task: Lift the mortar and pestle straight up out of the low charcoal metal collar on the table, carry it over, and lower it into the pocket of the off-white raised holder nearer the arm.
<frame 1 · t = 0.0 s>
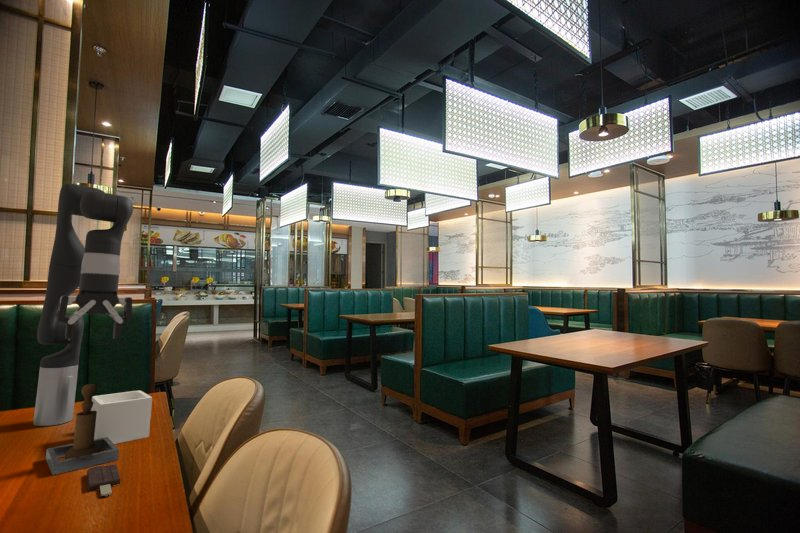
hand: (93, 339, 93), 29 cm above the table, tool pointing down, fingers open, 8 cm apart
low collar: (81, 459, 94), on the table
raised holder: (118, 436, 110), on the table
ice cream bar: (103, 486, 82), on the table
mortar and pestle: (81, 460, 94), resting in low collar
gaming controller: (116, 426, 119), on the table
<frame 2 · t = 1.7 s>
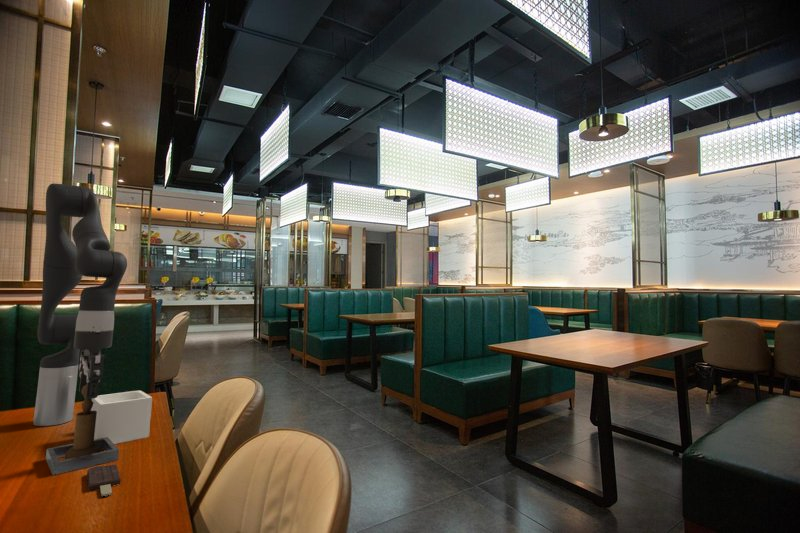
hand: (88, 395, 95), 15 cm above the table, tool pointing down, fingers open, 8 cm apart
nothing on the table moved.
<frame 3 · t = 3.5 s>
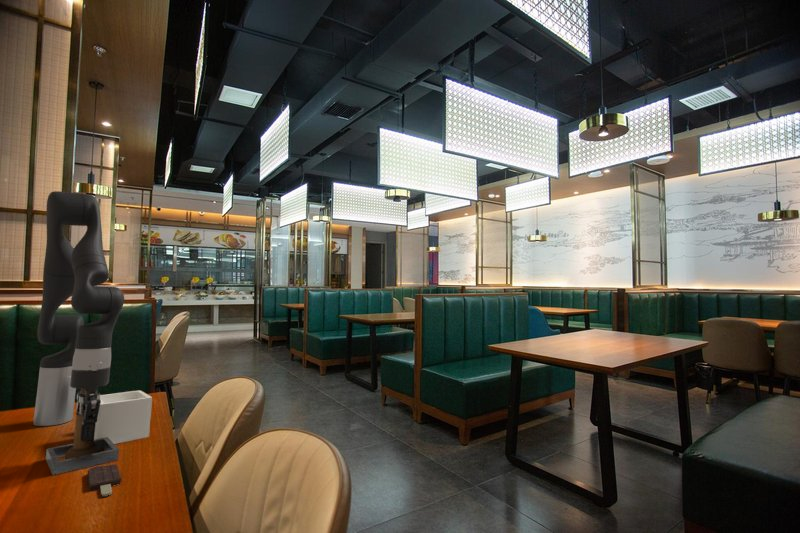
hand: (84, 437, 94), 5 cm above the table, tool pointing down, fingers closed on mortar and pestle, 4 cm apart
mortar and pestle: (81, 460, 94), resting in low collar, touching gripper
everything else where it was.
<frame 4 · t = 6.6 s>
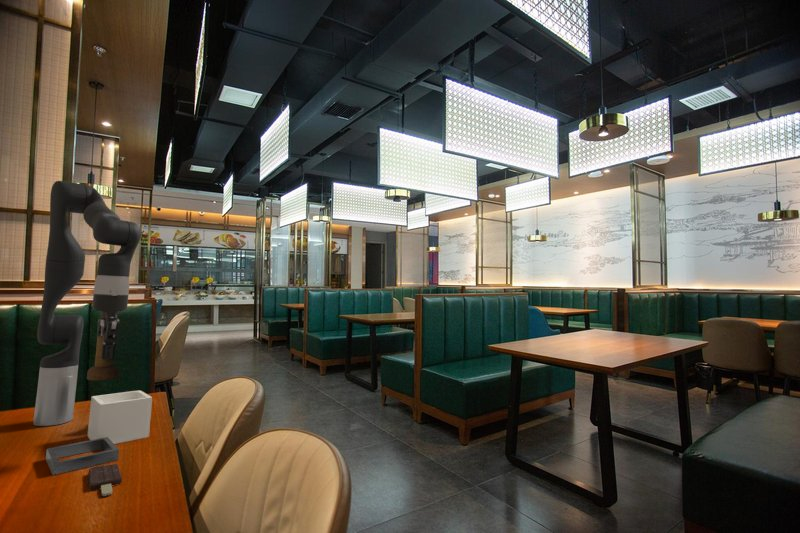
hand: (104, 357, 102), 24 cm above the table, tool pointing down, fingers closed on mortar and pestle, 4 cm apart
mortar and pestle: (102, 378, 102), point 18 cm above the table, touching gripper
everything else where it was.
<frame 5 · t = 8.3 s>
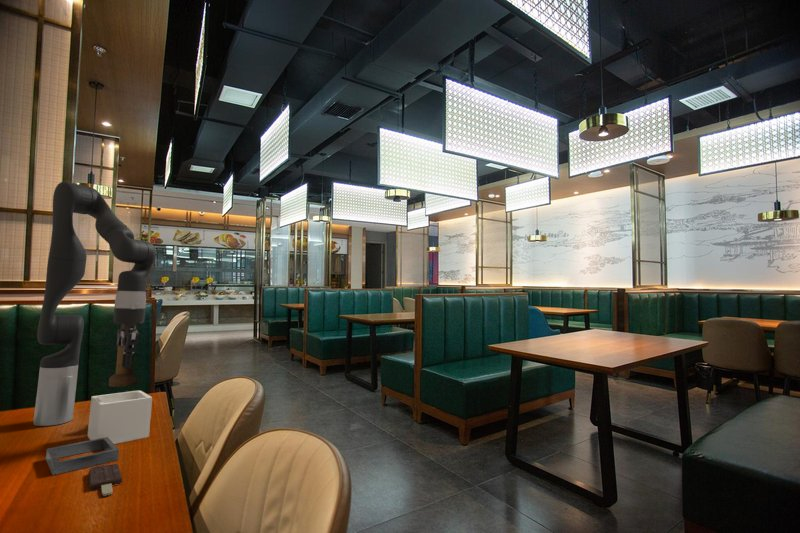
hand: (124, 366, 112), 20 cm above the table, tool pointing down, fingers closed on mortar and pestle, 4 cm apart
mortar and pestle: (122, 385, 111), point 14 cm above the table, touching gripper
everything else where it was.
when the fingers open (15 cm above the table, at t = 9.8 s): mortar and pestle drops 2 cm, resting on raised holder.
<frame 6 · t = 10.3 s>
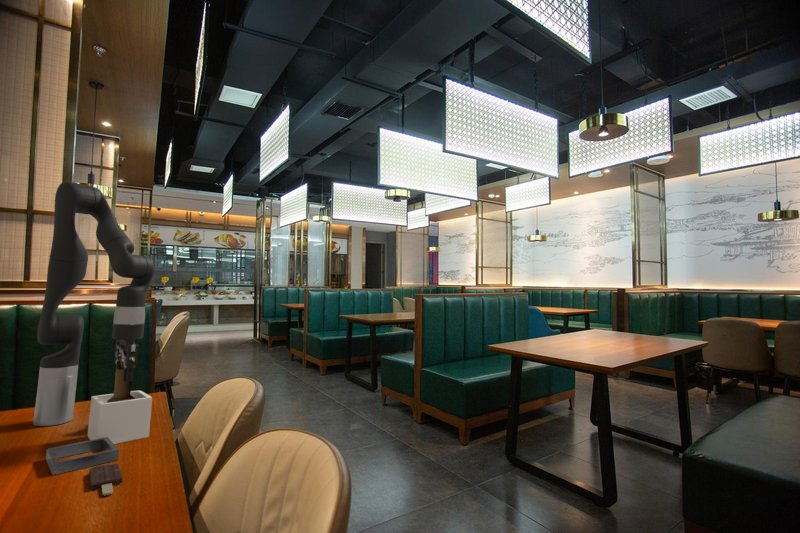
hand: (123, 378, 111), 16 cm above the table, tool pointing down, fingers open, 8 cm apart
mortar and pestle: (120, 408, 111), point 8 cm above the table, touching raised holder
everything else where it was.
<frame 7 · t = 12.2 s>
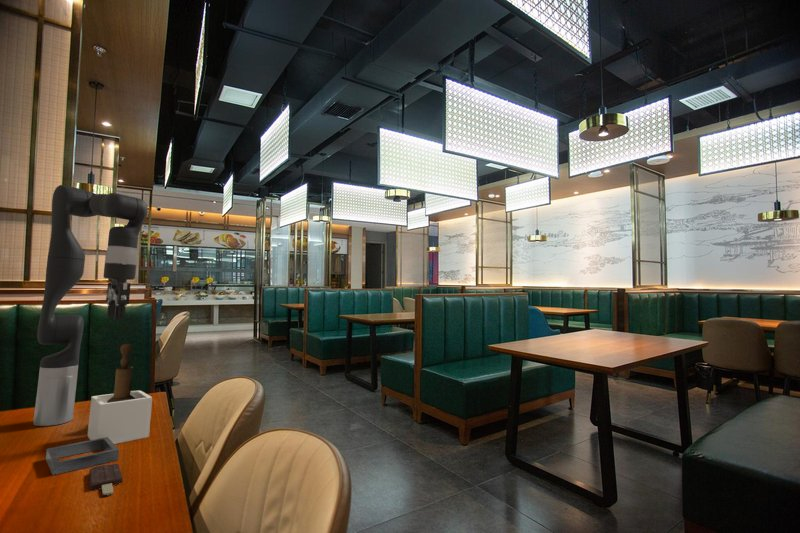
hand: (115, 318, 111), 33 cm above the table, tool pointing down, fingers open, 8 cm apart
nothing on the table moved.
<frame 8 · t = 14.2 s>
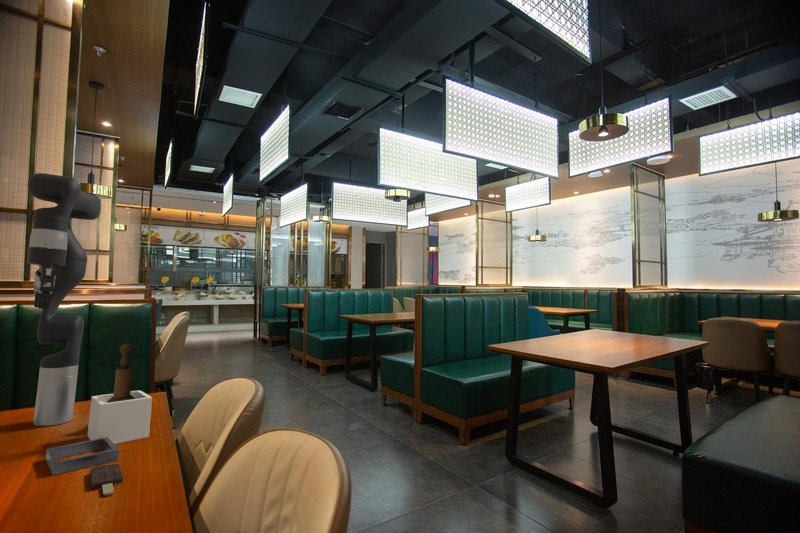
hand: (41, 308, 102), 36 cm above the table, tool pointing down, fingers open, 8 cm apart
nothing on the table moved.
at the end: mortar and pestle 0.1 cm off-centre on the raised holder, point 7.8 cm above the raised holder's base; mortar and pestle tilted 0°; the gripper is holding nothing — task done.
